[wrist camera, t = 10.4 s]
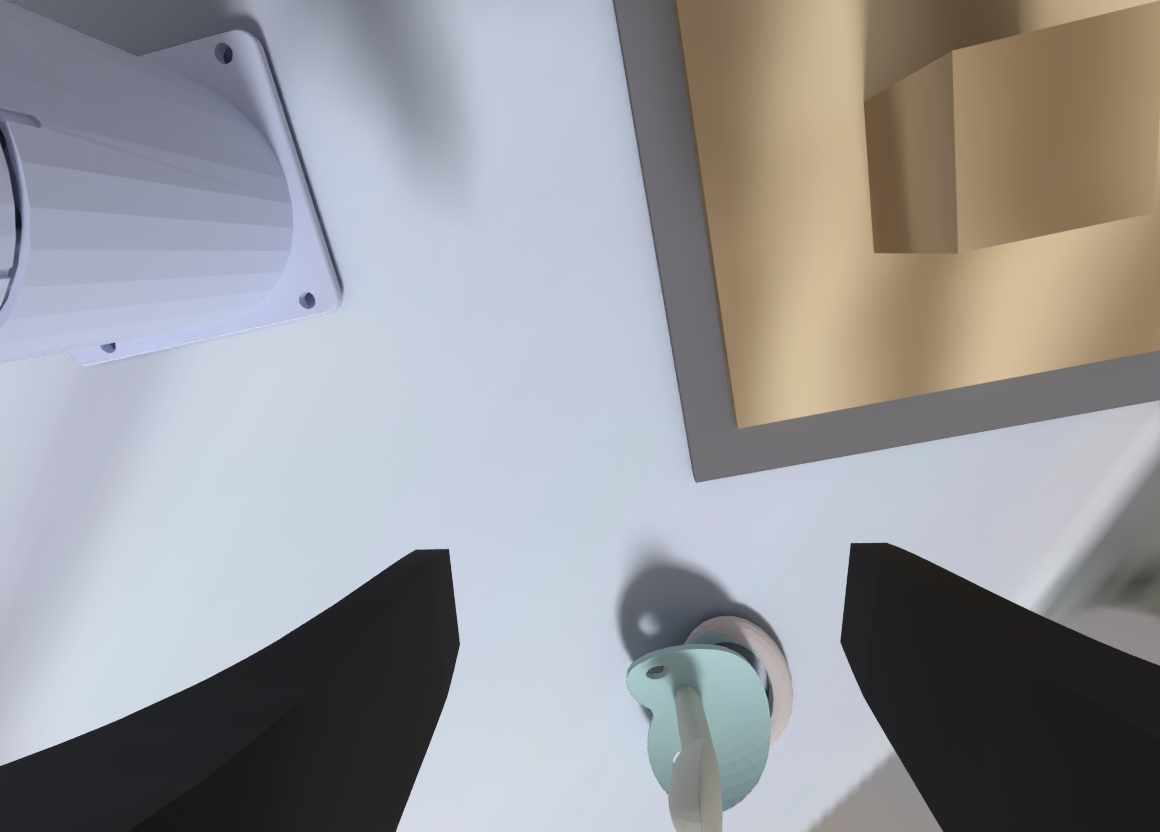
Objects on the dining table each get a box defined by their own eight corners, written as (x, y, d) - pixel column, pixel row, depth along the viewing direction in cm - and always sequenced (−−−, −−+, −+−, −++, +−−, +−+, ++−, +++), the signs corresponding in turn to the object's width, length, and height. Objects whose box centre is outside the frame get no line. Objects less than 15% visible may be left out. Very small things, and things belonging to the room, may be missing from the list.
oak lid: (733, 423, 18) (774, 477, 14) (667, -36, 15) (693, -157, 11) (1161, 343, 17) (1355, 374, 13) (1196, -178, 14) (1479, -383, 9)
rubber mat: (693, 477, 19) (695, 482, 19) (602, -62, 15) (602, -72, 15) (1192, 387, 18) (1208, 391, 17) (1245, -239, 14) (1269, -256, 13)
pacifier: (768, 584, 21) (612, 621, 21) (843, 717, 15) (623, 764, 15) (801, 738, 23) (657, 768, 23) (879, 910, 17) (682, 947, 17)
